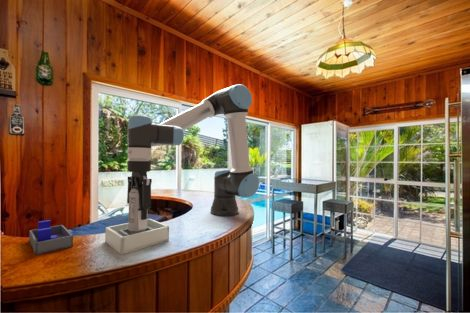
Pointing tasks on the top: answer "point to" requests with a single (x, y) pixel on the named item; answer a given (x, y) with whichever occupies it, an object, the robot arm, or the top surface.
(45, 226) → the cable clip
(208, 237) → the top surface
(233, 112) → the robot arm
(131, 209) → the energy drink can
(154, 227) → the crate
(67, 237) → the clip tray
